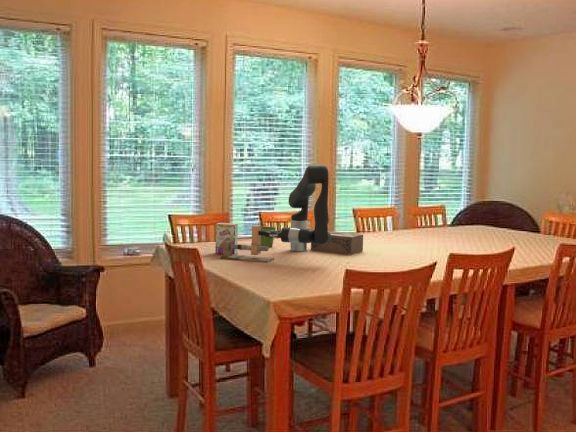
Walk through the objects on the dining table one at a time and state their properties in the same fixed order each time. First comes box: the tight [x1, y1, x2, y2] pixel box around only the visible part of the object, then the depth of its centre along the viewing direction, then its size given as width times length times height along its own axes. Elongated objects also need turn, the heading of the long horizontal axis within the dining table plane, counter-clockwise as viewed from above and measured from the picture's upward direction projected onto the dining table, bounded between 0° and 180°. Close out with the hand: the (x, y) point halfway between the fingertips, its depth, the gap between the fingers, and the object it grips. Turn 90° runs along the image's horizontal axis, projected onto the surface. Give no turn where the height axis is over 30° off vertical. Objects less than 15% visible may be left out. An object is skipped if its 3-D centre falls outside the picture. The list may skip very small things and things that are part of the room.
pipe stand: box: [219, 241, 275, 264], centre depth 322 cm, size 10×26×8 cm, turn 72°
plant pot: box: [261, 226, 277, 249], centre depth 363 cm, size 12×12×11 cm
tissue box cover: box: [310, 230, 364, 256], centre depth 356 cm, size 26×14×10 cm, turn 57°
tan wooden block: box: [250, 224, 262, 256], centre depth 320 cm, size 6×3×15 cm, turn 162°
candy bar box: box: [215, 222, 239, 255], centre depth 336 cm, size 11×5×16 cm, turn 74°
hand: (259, 232), depth 319 cm, fingers closed
